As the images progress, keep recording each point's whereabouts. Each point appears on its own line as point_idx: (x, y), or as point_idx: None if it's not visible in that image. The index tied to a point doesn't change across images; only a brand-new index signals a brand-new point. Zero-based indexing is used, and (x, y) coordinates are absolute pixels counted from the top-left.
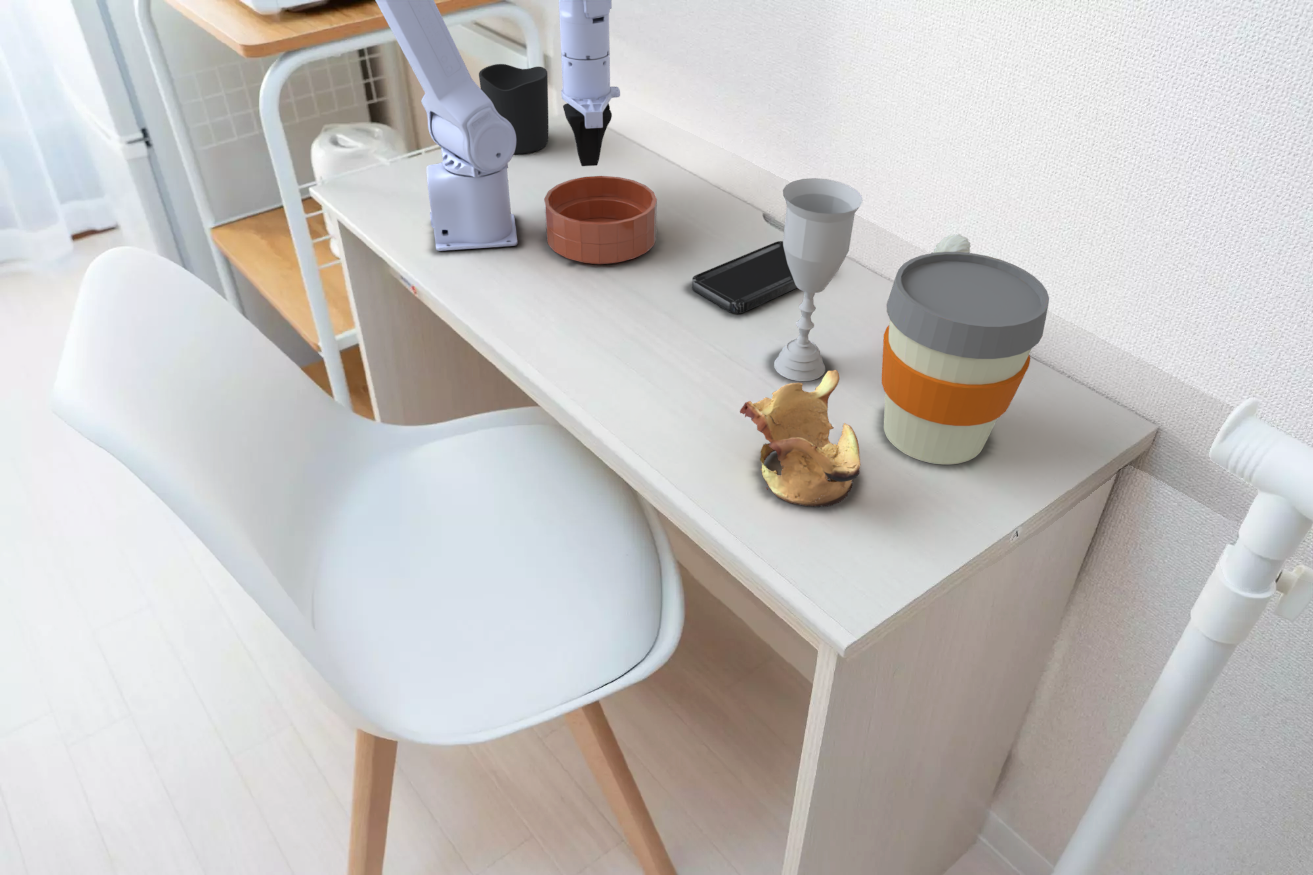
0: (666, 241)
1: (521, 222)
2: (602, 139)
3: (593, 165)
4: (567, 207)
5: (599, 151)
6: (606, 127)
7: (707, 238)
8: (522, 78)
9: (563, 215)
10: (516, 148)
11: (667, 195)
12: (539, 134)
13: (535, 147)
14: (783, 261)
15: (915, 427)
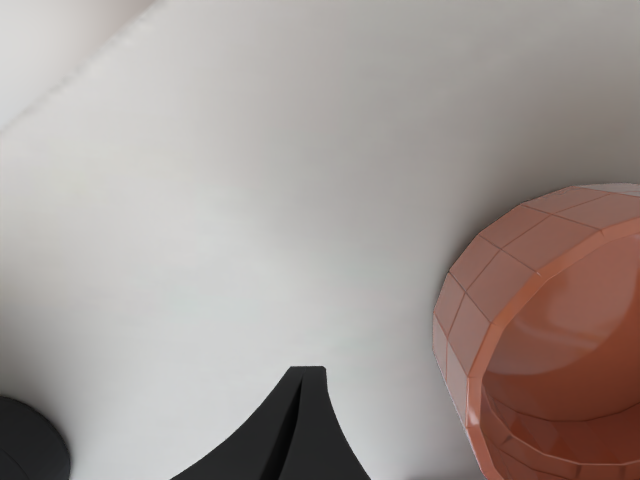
0: (613, 150)
1: (426, 472)
2: (337, 427)
3: (326, 378)
4: (512, 432)
5: (327, 395)
6: (369, 477)
7: (630, 13)
8: None
9: (523, 432)
10: (61, 472)
11: (306, 113)
12: (5, 445)
13: (43, 430)
14: None
15: None
